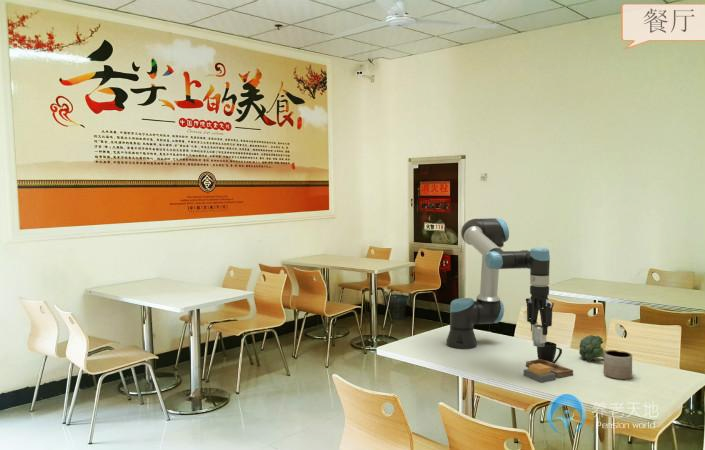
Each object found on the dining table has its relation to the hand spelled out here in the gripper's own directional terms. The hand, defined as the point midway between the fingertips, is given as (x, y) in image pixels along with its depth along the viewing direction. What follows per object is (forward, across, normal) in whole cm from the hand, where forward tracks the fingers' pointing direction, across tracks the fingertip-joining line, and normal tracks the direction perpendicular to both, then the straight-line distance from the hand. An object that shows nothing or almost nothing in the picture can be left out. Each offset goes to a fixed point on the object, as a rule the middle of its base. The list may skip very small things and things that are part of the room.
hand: (538, 341), depth 229 cm
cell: (+2, 0, 0) cm, 2 cm away
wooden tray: (+15, -5, +11) cm, 19 cm away
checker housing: (+15, 0, 0) cm, 15 cm away
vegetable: (+15, -8, +42) cm, 45 cm away
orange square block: (+14, 0, 0) cm, 14 cm away
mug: (+16, -12, +18) cm, 27 cm away
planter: (+16, +13, +32) cm, 38 cm away
